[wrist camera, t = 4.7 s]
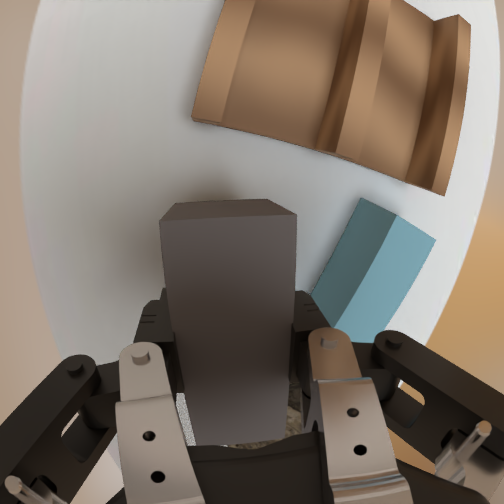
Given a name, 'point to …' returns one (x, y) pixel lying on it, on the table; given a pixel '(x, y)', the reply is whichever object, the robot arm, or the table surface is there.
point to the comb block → (343, 81)
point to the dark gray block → (232, 314)
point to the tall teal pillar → (370, 271)
